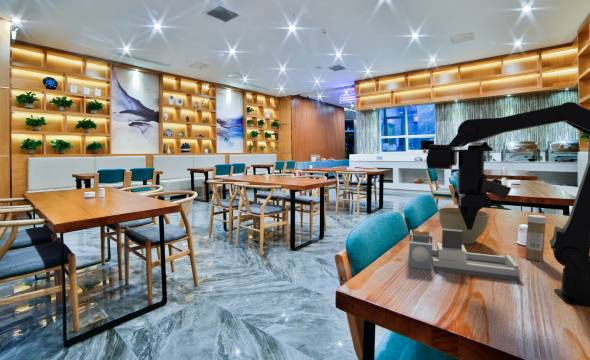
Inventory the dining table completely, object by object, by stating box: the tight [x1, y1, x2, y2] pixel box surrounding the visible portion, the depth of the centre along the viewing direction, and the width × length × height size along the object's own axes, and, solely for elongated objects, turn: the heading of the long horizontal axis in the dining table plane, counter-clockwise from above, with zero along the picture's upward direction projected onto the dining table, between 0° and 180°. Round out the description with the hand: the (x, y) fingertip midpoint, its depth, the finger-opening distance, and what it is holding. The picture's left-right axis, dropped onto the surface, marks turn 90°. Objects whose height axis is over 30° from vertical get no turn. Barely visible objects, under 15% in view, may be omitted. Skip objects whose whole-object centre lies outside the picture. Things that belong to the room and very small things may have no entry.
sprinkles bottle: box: [524, 214, 547, 262], centre depth 95 cm, size 5×5×13 cm
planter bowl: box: [438, 207, 490, 245], centre depth 114 cm, size 16×16×11 cm
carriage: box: [436, 227, 468, 263], centre depth 90 cm, size 7×7×9 cm
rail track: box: [432, 248, 521, 282], centre depth 88 cm, size 12×20×3 cm, turn 69°
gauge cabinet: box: [408, 229, 434, 271], centre depth 93 cm, size 12×6×9 cm, turn 159°
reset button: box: [413, 228, 429, 236], centre depth 92 cm, size 4×4×2 cm
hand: (469, 229), depth 81 cm, fingers closed
